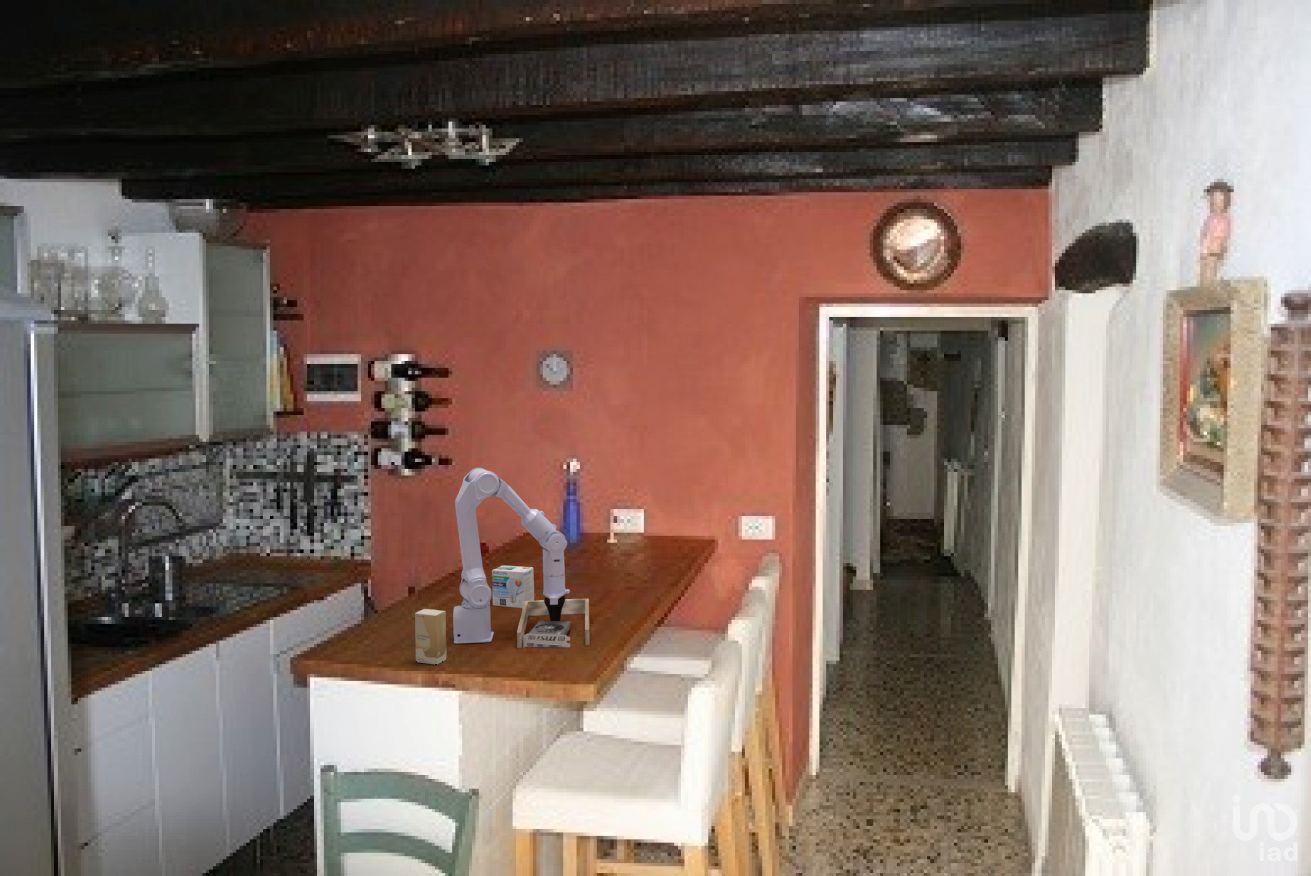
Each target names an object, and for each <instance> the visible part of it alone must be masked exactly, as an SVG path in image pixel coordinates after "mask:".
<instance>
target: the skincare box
mask: <svg viewBox="0 0 1311 876" xmlns="http://www.w3.org/2000/svg"><path fill="white" fill-rule="evenodd" d="M446 616H447V613H446V610H438V609H429V608H423V609H421V610H418V611H416V612H415V613H414V618H415V619H414V629H415V630H414V632H415V634H414V636H415V639H414V640H415V662H416V661H417V662H416V663H421V664H422V663H423V664H428V665H429V664H430V665H435V664H437V665H439V664H441V663H442V661H443V662H445V661H447V621H446V620H447V617H446Z"/></svg>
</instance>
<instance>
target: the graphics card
mask: <svg viewBox="0 0 1311 876" xmlns="http://www.w3.org/2000/svg"><path fill="white" fill-rule="evenodd" d="M571 626H572V621H570V620H568V621H561V620H560V621H550V620H547V621H546V620H544V619H540V620H539V621H538V622H537V623H536V624H535V625H534V626H533V628H532V629H531V630H530V631H529V632H528V633H526V634H524V636H523V647H522V648H523V649H524V648H527V647H529V648H557V649H558V648H571V643H568V641H571V637H570V636H568V635H567V634H568V633H569V631H570V630H571Z"/></svg>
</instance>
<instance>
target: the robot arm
mask: <svg viewBox="0 0 1311 876" xmlns="http://www.w3.org/2000/svg"><path fill="white" fill-rule="evenodd" d="M462 479H463V480H462V484H461V486H460V489H459V491H458V494H457V496H456V497H455V500H454V507H455V516H456V523H457V532H458V537H459V538H458V539H459V547H460V556H461V564H462V565H461V566H462V571H461V574H460V575H461V581H460V584H459V593H460V596H461V597H463V600H462V602H461V605H455V606H454V607H453V614H452V615H453V616H452V621H453V622H452V623H453V644H455V645H456V644H473V643H474V644H476V643H479V644H480V643H492V641H493V637H494V635H495V632H494V631H492V624H491V623H492V622H491V602H490V601H491V599H492V597H493V591H492V589H491V587H490V586H489V584H488V582H487V576H486V573H485V571H484V567H483V566H484V565H483V560H482V559H483V558H482V553H481V544H480V543H481V542H480V535H479V527H478V519H477V511H476V509H477V508H478V506H479V505H480V504H481V503H482V502H483V501H484V500H485V499H488V498H490V497H491V496H494V497H497V498H499V499H501V500H503V501H504V502H505V503H506V505H508V506H509V507H510V508H511V509H512V510H513V511H514V512H516V514H518V516H519V517H521V523H520V524H521V526H522V527H523V528H525V530H526V531H527V532H528V533H529V534H530V535H531V536H532V537H533V538H534V539H535V540H536V541H538V544H539V546H540V547H542V573H543V574H542V577H543V579H542V580H543V591H542V594H543V596H545V597H544V599H543V600H544V603H545V605H546V607H547V609H548V612H549V615H548V616H549V621H561V618H562V617H561V616H562V614H561V612H562V608H563V605H564V603H565V599H566V596H565V594H570V592H571V591H570V589H568V588H566V575H565V573H566V571H565V570H566V569H565V550H566V548H567V546H568V540H567V539H566V537H565V535H564V534H563V533H562V532H561V531H559V530H557V527H558V526H557V525H556V524H555V523H552V522H550V521H549V519H547V517H545V515H546V513H545V512H544V511H543V510H539V509H537V508H530V507H529V506H528V505H527V504H526V503H525V502H524V500H523V499H522V498H521V497H520V496H519V495H518V494H517V493H516V491H515V490H514V489H513V488H512V487H511V486H510V485H509V484H508V483H507V482H505V480H503V479H501V478H500V477H498V475H497V474H496V473H495V472H493V471H490V470H487V469H486V468H483V467H476V468H475V467H474V468H473V469H471V470H470V471H469V472H468V473H467V474H466V475H465V476H464V477H463V478H462Z"/></svg>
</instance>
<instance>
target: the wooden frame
mask: <svg viewBox="0 0 1311 876" xmlns="http://www.w3.org/2000/svg"><path fill="white" fill-rule="evenodd" d="M589 600H590V599H589V598H571V599H568V598H567V599H566V598H565V603H564V605H563V608H562V612H561V615H582V614H584V630H585V631H584V632H585V633H584V634H585V635H584V638H585V646H590V645H591V644H590V639H591V638H590V604H589V603H590V601H589ZM521 609H522V610H521V615H520V620H519V623H518V627H517V630H516V642H517V643H516V644H517V649H522V648H523V647H522V646H523V644H524V641H523V640H524V639H523V636H524V635H526V634H525V633H526V628H527V624H528V618H529V616H530V617H531V616H533V617H534V616H549V612H548V609H547V607H546V605H545V603H544V599H543V600H539V599H538V600H534V601H524V605H523V608H521Z"/></svg>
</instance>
